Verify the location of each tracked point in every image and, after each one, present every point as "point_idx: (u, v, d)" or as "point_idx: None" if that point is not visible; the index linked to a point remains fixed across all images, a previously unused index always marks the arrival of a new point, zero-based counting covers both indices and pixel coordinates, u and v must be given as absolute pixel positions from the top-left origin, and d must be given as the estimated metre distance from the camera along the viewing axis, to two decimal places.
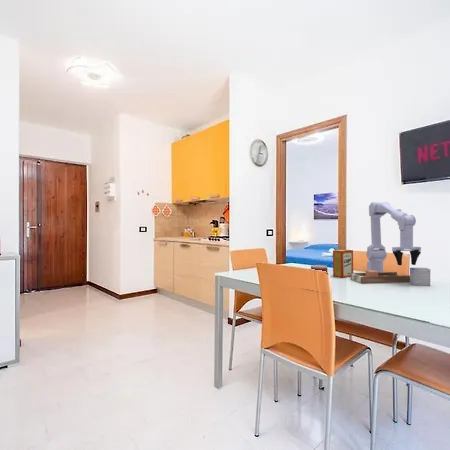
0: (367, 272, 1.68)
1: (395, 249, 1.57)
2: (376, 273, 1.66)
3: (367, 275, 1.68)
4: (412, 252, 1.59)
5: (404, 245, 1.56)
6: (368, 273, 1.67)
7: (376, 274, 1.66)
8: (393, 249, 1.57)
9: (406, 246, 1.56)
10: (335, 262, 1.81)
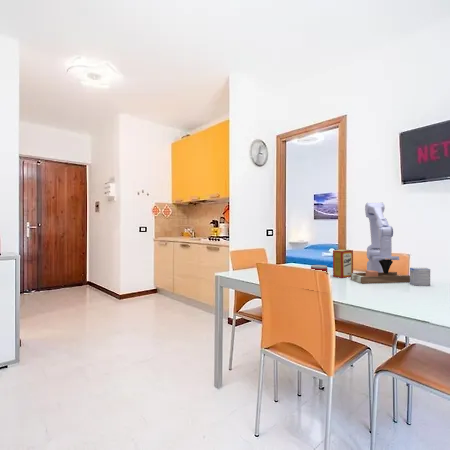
0: (367, 272, 1.68)
1: (375, 258, 1.67)
2: (376, 273, 1.66)
3: (367, 275, 1.68)
4: None
5: (383, 255, 1.66)
6: (368, 273, 1.67)
7: (376, 274, 1.66)
8: (373, 258, 1.67)
9: (385, 256, 1.66)
10: (335, 262, 1.81)
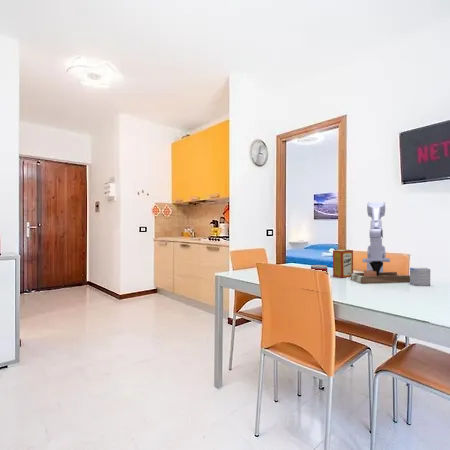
0: (365, 272, 1.68)
1: (365, 260, 1.66)
2: (374, 273, 1.65)
3: (365, 275, 1.68)
4: None
5: (373, 257, 1.66)
6: (366, 273, 1.67)
7: (374, 274, 1.65)
8: (363, 260, 1.67)
9: (375, 258, 1.65)
10: (335, 262, 1.81)
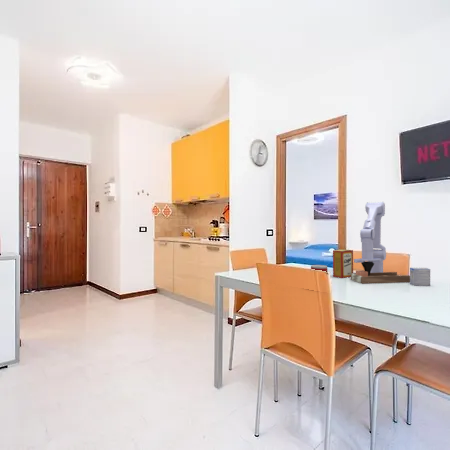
0: (357, 272, 1.67)
1: (356, 261, 1.66)
2: (366, 273, 1.65)
3: None
4: None
5: (365, 257, 1.66)
6: (358, 273, 1.66)
7: (366, 274, 1.65)
8: (355, 261, 1.67)
9: (366, 258, 1.65)
10: (335, 262, 1.81)
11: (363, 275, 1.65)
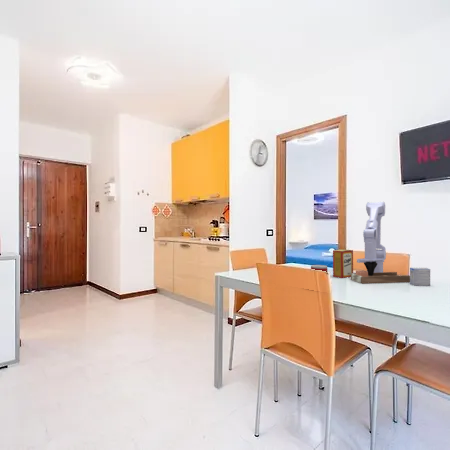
0: (357, 272, 1.67)
1: (359, 261, 1.66)
2: (366, 273, 1.65)
3: None
4: None
5: (368, 257, 1.66)
6: (358, 273, 1.66)
7: (366, 274, 1.65)
8: (357, 261, 1.67)
9: (369, 258, 1.65)
10: (335, 262, 1.81)
11: (363, 275, 1.65)
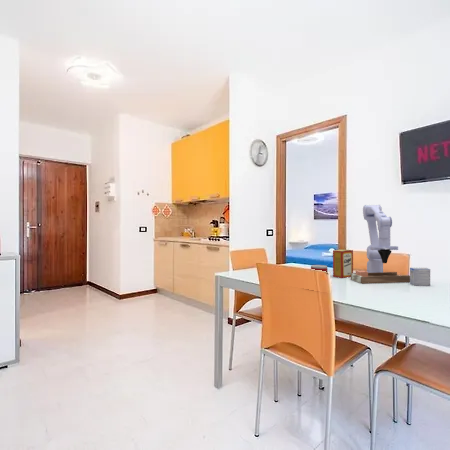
0: (357, 272, 1.67)
1: (373, 248, 1.69)
2: (366, 273, 1.65)
3: None
4: None
5: (382, 245, 1.69)
6: (358, 273, 1.66)
7: (366, 274, 1.65)
8: (372, 248, 1.70)
9: (384, 245, 1.68)
10: (335, 262, 1.81)
11: (363, 275, 1.65)
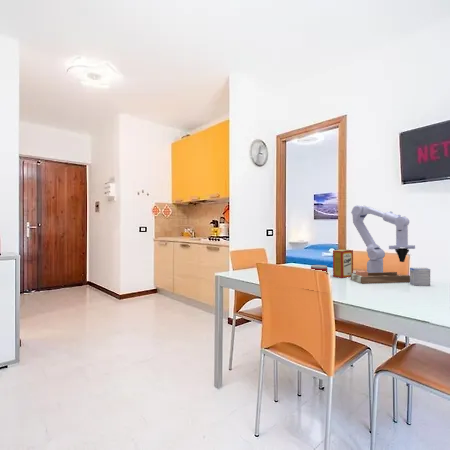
0: (357, 272, 1.67)
1: (391, 247, 1.73)
2: (366, 273, 1.65)
3: None
4: None
5: (400, 244, 1.72)
6: (358, 273, 1.66)
7: (366, 274, 1.65)
8: (390, 247, 1.74)
9: (401, 245, 1.72)
10: (335, 262, 1.81)
11: (363, 275, 1.65)
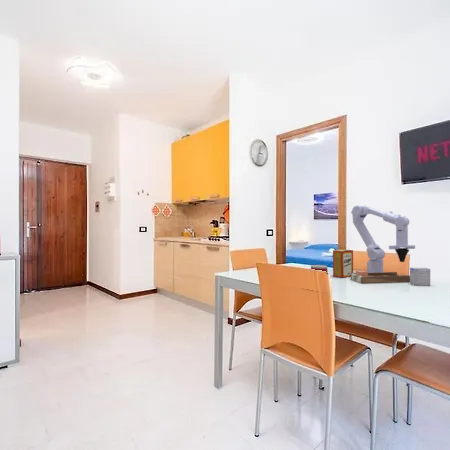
0: (357, 272, 1.67)
1: (391, 247, 1.73)
2: (366, 273, 1.65)
3: None
4: None
5: (400, 244, 1.72)
6: (358, 273, 1.66)
7: (366, 274, 1.65)
8: (390, 247, 1.74)
9: (401, 245, 1.72)
10: (335, 262, 1.81)
11: (363, 275, 1.65)
